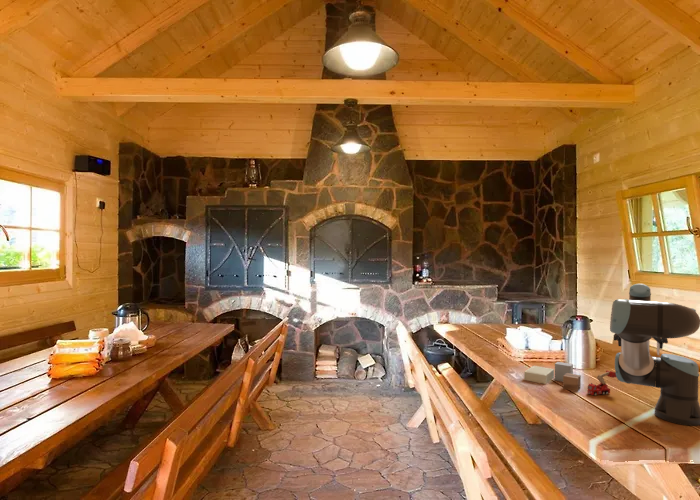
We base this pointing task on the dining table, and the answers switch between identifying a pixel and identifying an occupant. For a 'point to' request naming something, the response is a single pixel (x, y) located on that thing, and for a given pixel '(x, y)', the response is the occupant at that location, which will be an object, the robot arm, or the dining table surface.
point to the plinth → (539, 374)
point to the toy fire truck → (601, 387)
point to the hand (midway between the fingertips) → (639, 351)
